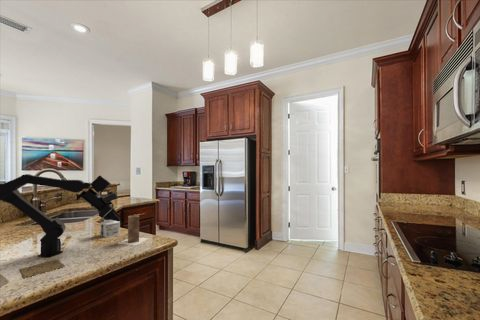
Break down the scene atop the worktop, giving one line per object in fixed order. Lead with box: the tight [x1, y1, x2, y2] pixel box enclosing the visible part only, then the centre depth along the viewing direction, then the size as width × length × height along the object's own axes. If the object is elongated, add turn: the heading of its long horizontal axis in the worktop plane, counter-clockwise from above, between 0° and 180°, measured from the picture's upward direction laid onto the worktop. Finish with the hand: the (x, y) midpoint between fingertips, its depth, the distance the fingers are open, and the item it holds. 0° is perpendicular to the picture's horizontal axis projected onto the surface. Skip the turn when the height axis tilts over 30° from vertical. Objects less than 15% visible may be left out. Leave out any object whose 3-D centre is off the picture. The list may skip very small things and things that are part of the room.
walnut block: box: [127, 214, 140, 243], centre depth 118 cm, size 5×5×13 cm
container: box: [99, 218, 121, 238], centre depth 129 cm, size 8×8×13 cm
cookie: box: [19, 258, 66, 280], centre depth 87 cm, size 12×12×1 cm
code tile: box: [117, 237, 149, 246], centre depth 117 cm, size 11×11×1 cm
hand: (119, 218), depth 114 cm, fingers open, 9 cm apart
